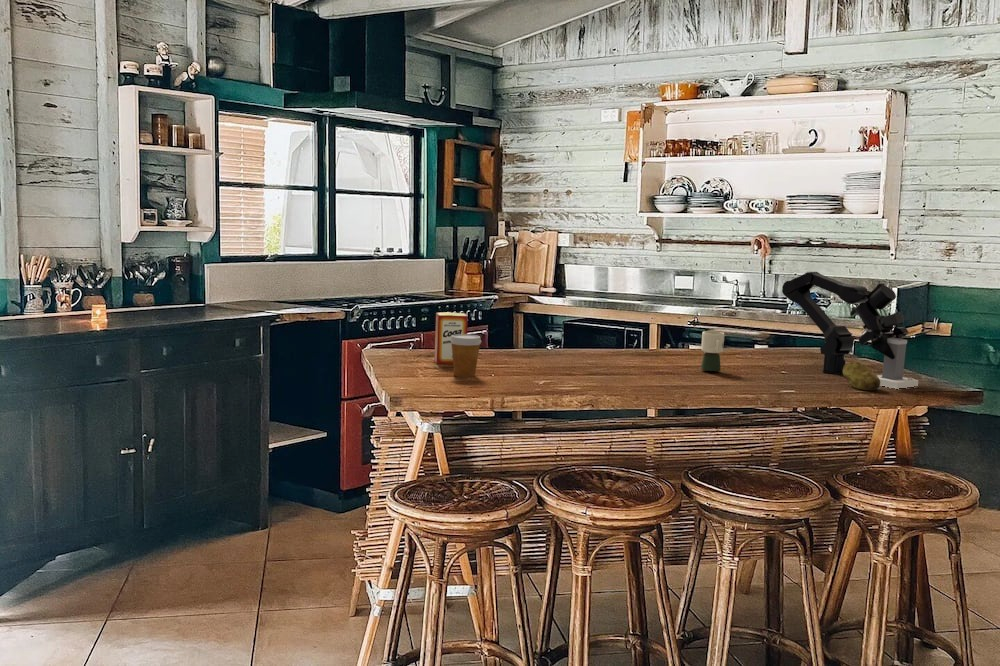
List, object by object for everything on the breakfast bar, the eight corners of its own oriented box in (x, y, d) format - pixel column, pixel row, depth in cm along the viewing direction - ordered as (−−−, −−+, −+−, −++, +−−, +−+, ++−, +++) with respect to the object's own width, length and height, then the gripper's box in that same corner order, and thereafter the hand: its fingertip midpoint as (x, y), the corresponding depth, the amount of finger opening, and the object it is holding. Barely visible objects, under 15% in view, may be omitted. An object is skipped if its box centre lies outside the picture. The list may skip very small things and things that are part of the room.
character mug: (726, 375, 318) (729, 335, 316) (705, 374, 317) (708, 334, 315) (715, 368, 328) (718, 330, 326) (694, 368, 327) (697, 329, 326)
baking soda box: (463, 360, 324) (464, 312, 321) (465, 363, 317) (467, 314, 315) (434, 360, 322) (436, 311, 320) (436, 363, 316) (438, 314, 313)
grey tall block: (881, 376, 313) (885, 338, 311) (890, 375, 315) (894, 337, 314) (894, 379, 309) (898, 340, 307) (903, 378, 312) (907, 340, 310)
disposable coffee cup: (473, 372, 304) (475, 333, 302) (484, 378, 295) (486, 338, 293) (444, 372, 300) (446, 334, 299) (454, 378, 292) (455, 339, 290)
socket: (866, 383, 314) (867, 374, 314) (887, 380, 320) (888, 372, 320) (896, 389, 305) (897, 381, 305) (917, 387, 311) (918, 378, 311)
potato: (856, 392, 298) (858, 366, 297) (837, 383, 311) (839, 358, 310) (882, 392, 299) (885, 366, 298) (862, 384, 312) (864, 359, 311)
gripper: (870, 304, 307) (898, 344, 299) (906, 302, 317) (934, 341, 310) (847, 325, 314) (873, 365, 307) (882, 323, 325) (909, 361, 317)
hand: (898, 358), depth 310 cm, fingers closed on grey tall block, 4 cm apart
